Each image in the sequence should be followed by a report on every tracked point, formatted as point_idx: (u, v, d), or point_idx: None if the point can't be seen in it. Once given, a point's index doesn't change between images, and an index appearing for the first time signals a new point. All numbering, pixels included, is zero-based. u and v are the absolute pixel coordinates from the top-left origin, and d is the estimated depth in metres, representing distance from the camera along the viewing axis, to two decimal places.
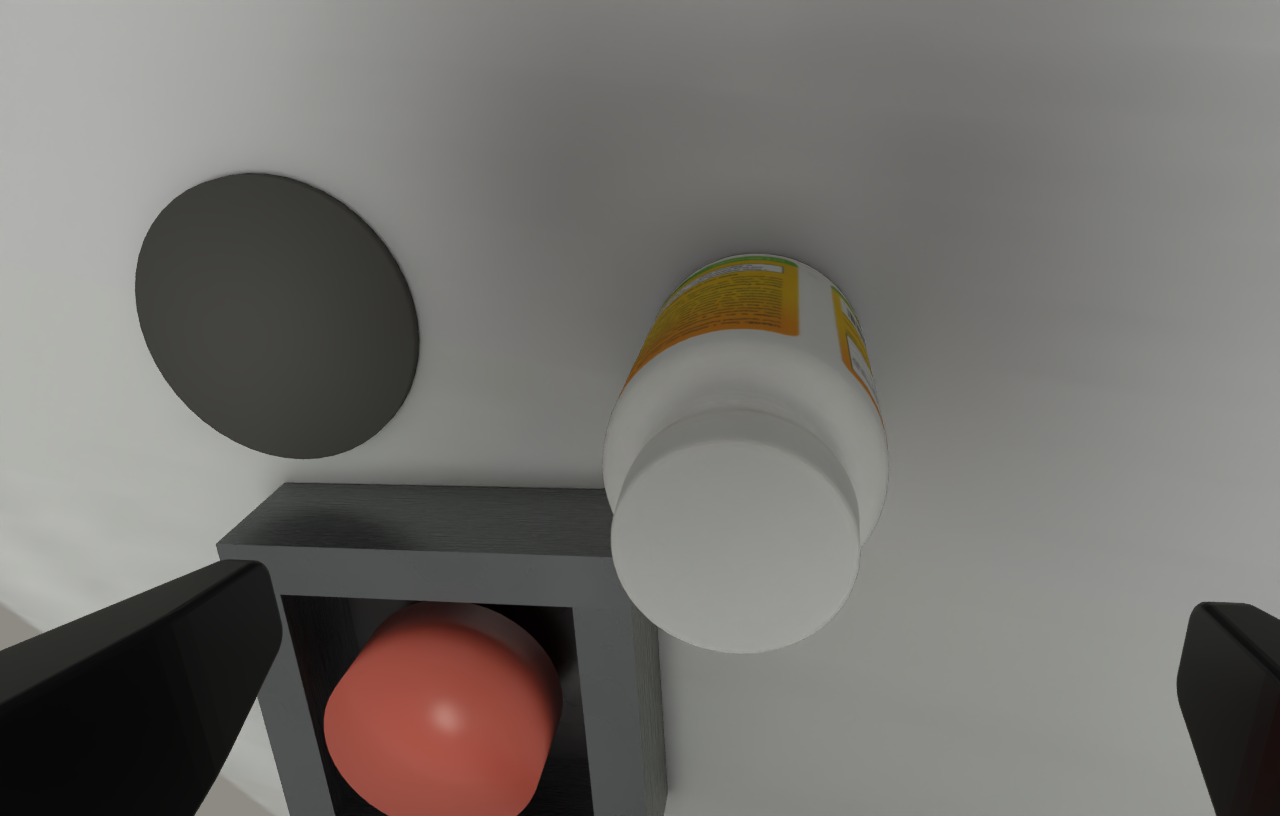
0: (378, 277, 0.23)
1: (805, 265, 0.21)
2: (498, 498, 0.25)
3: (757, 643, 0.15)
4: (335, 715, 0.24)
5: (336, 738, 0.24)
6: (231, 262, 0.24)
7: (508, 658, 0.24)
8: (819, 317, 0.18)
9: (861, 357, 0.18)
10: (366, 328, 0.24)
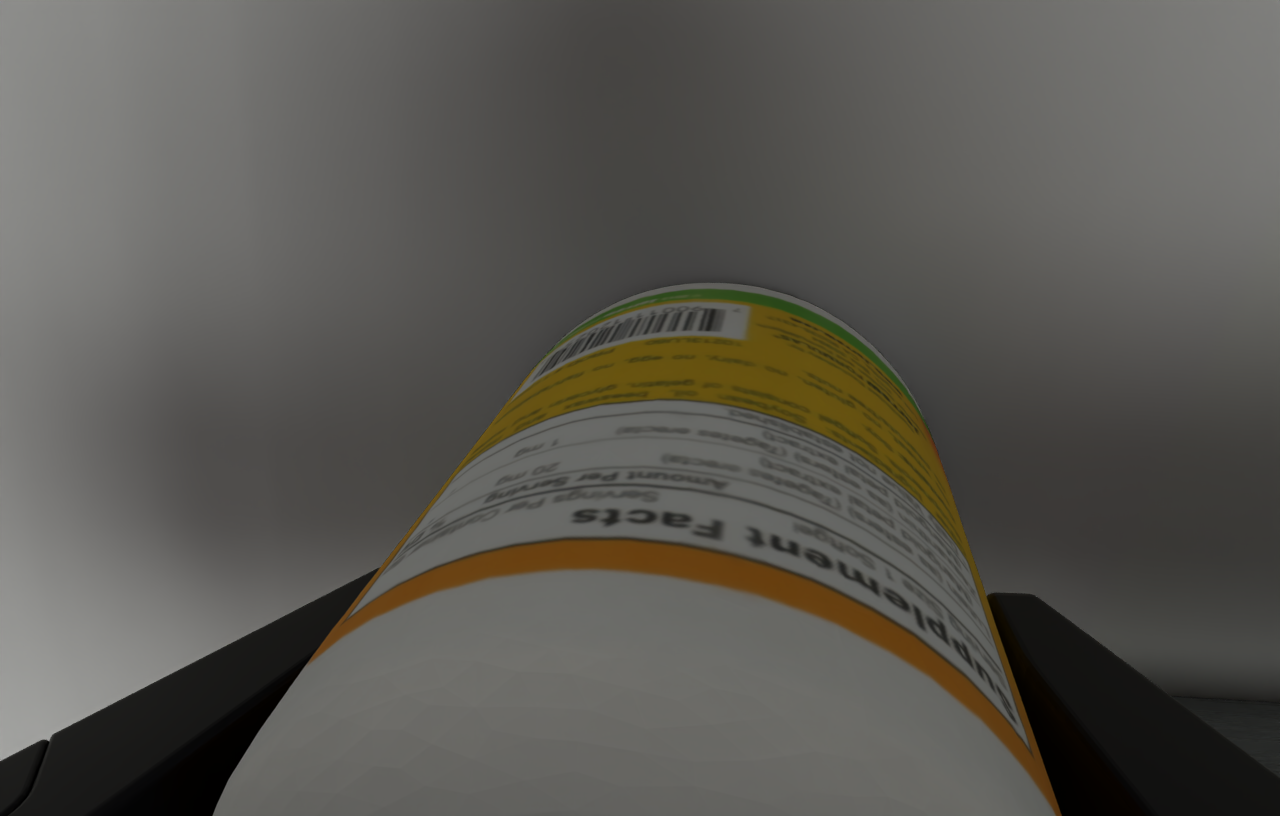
0: None
1: None
2: None
3: None
4: None
5: None
6: None
7: None
8: None
9: (491, 456, 0.07)
10: None
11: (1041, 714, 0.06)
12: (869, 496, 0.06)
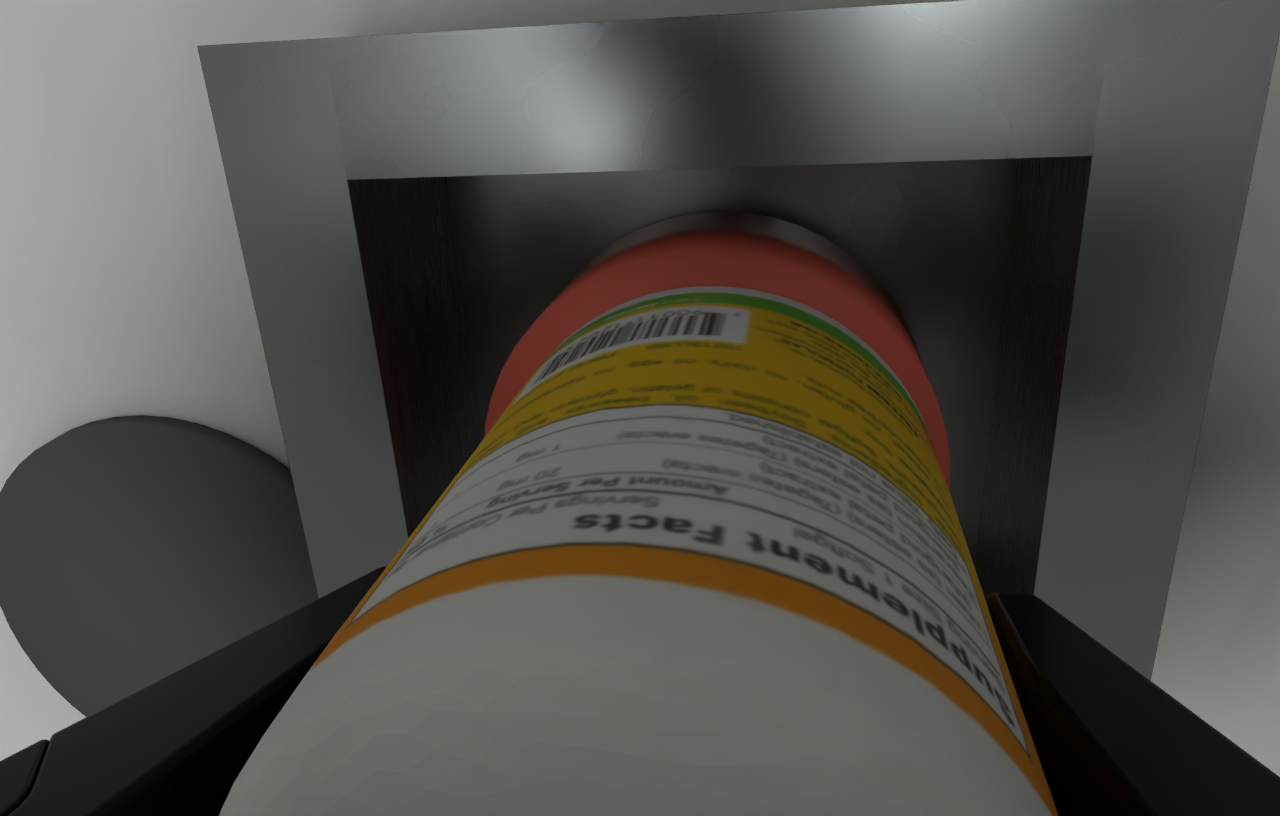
0: (72, 458, 0.16)
1: None
2: None
3: None
4: None
5: None
6: (110, 642, 0.18)
7: (552, 302, 0.12)
8: None
9: (493, 460, 0.07)
10: (150, 490, 0.16)
11: (1041, 714, 0.06)
12: (869, 500, 0.06)
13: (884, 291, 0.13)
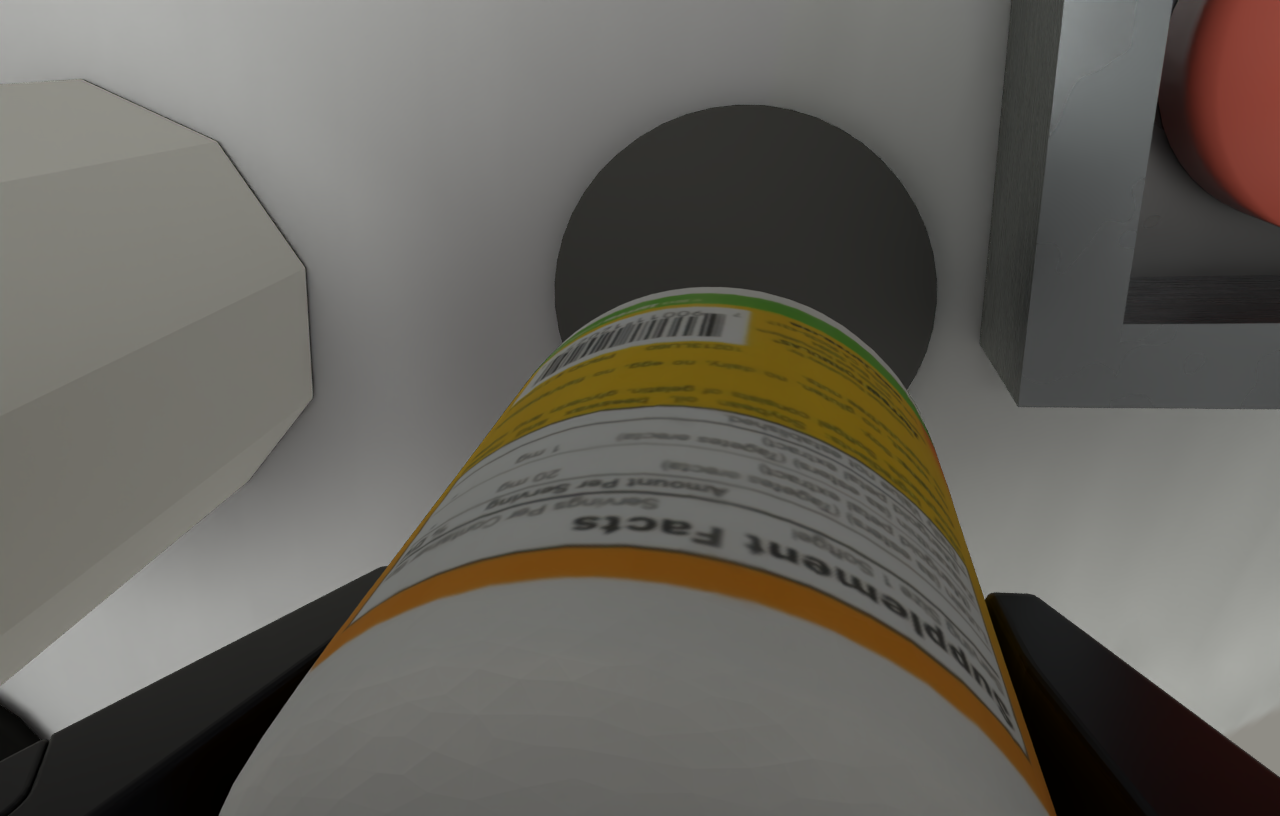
0: (673, 145, 0.18)
1: None
2: None
3: None
4: None
5: None
6: None
7: None
8: None
9: (492, 461, 0.07)
10: (743, 174, 0.18)
11: (1041, 714, 0.06)
12: (868, 501, 0.06)
13: None
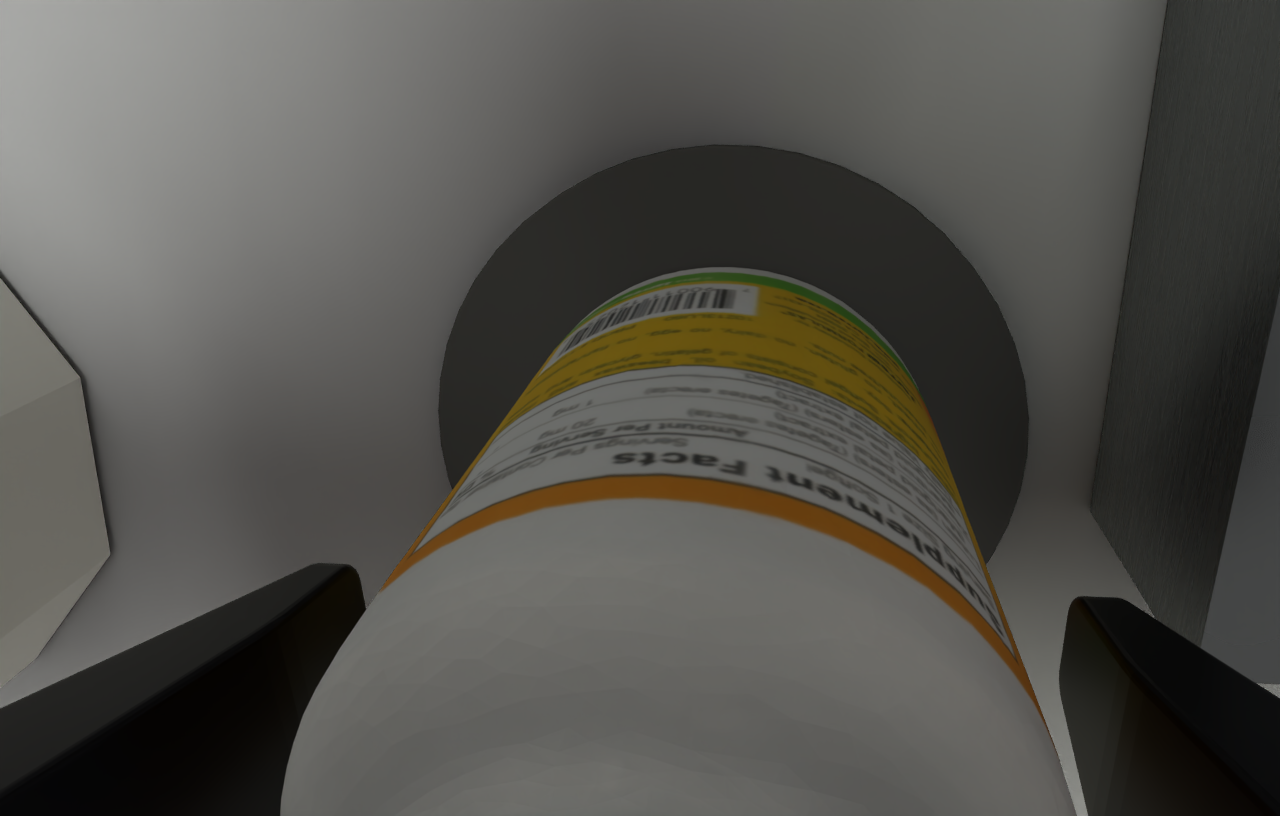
0: (610, 208, 0.11)
1: None
2: None
3: None
4: None
5: None
6: None
7: None
8: None
9: (529, 418, 0.08)
10: (722, 254, 0.11)
11: (1152, 721, 0.06)
12: (872, 447, 0.07)
13: None
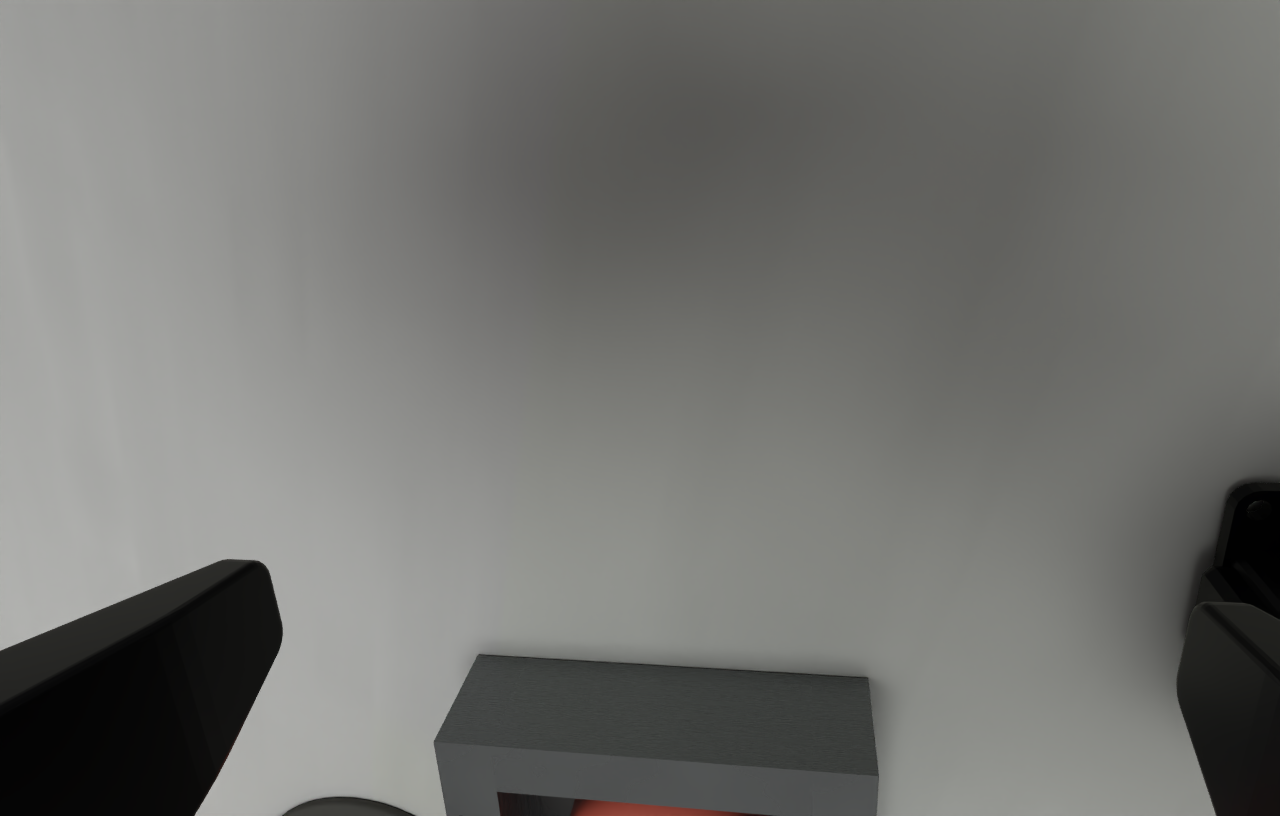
0: None
1: None
2: None
3: None
4: None
5: None
6: None
7: (585, 804, 0.25)
8: None
9: None
10: None
11: None
12: None
13: None
